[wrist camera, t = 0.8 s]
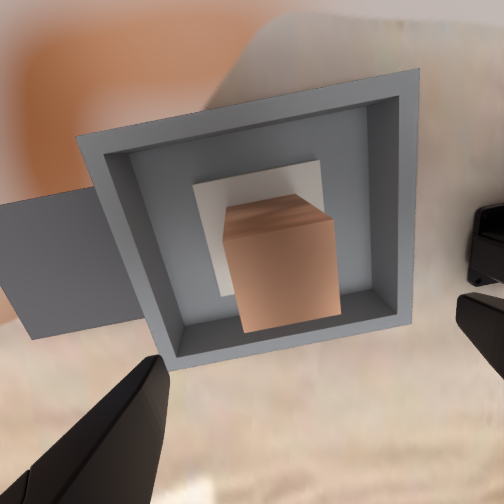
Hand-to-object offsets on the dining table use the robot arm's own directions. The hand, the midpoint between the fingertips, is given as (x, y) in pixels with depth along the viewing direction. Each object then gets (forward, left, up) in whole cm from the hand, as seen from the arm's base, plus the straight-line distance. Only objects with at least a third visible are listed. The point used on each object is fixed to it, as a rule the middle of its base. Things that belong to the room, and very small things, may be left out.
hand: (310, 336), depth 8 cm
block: (0, 0, -11) cm, 11 cm away
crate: (0, 0, -12) cm, 12 cm away
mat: (+14, 0, -12) cm, 19 cm away
